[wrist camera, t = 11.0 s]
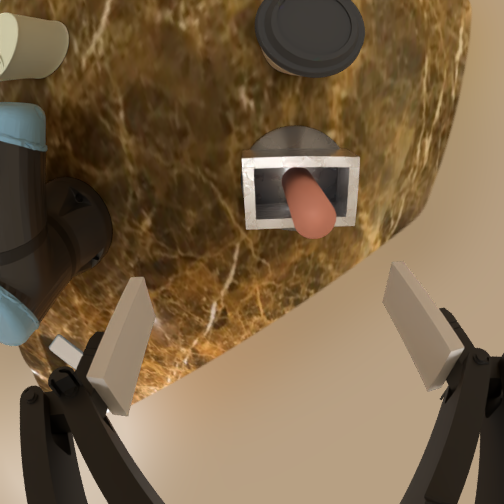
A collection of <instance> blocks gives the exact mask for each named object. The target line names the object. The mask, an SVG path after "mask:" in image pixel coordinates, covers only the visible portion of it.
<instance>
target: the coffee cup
mask: <svg viewBox="0 0 504 504" xmlns="http://www.w3.org/2000/svg"><path fill="white" fill-rule="evenodd" d="M255 32H256V37H257V40H258V42H259V45H260V46H261V49H262V52H263V55H264V57H265V58H266V60H267V61H268V63H269V64H270V65H271V66H272V67H273V68H275V69H276V70H278V71H280V72H283V73H286V74H290V75H297V76H304V77H313V78H318V77H327V76H331V75H334V74H337V73H339V72H341V71H343V70H344V69H346V68H347V67H348V66H350V65H351V64H352V63H353V61H354V60H355V59H356V57H357V56H358V54H359V52H360V49H361V47H362V45H363V42H364V36H365V27H364V22H363V19H362V16H361V14H360V12H359V10H358V9H357V7H356V6H355V5H354V3H353V2H352V1H351V0H264V1H263V2H262V4H261V5H260V7H259V9H258V11H257V14H256V19H255Z"/></svg>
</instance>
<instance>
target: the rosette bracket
mask: <svg viewBox="0 0 504 504" xmlns="http://www.w3.org/2000/svg"><path fill="white" fill-rule="evenodd" d="M359 166H360V157H359V156H357V155H356V154H354V153H353V152H351V151H350V150H348V149H340V148H339V146H338V145H337V144H336V143H335V142H334V141H333V140H332V139H331V138H330V137H328V136H327V135H325V134H324V133H322V132H320V131H318V130H316V129H313V128H310V127H305V126H296V125H294V126H285V127H280V128H277V129H275V130H272V131H270V132H268V133H266V134H265V135H264V136H262V137H261V138H260V139H259V140H257V141H256V142H255V143H254V145H253V146H252V147H251V148H250V150H243V153H242V173H241V186H242V192H243V195H244V204H245V220H246V230H250V229H273V228H279V229H283V230H291V231H297V230H296V229H295V226H294V223H293V220H292V217H291V213H290V210H289V207H288V203H287V200H286V197H285V193H284V190H283V187H282V177H283V174H284V173H285V172H286V171H287V170H288V169H290V168H292V167H303V168H305V169H307V170H308V171H309V172H310V173H311V175H312V176H313V178H314V179H315V181H316V182H317V183H318V185H319V186H320V188H321V189H322V191H323V192H324V194H325V195H326V197H327V198H328V200H329V201H330V203H331V204H332V206H333V207H334V209H335V212H336V223H335V225H334V226H355V219H356V208H357V196H358V183H359Z"/></svg>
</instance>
